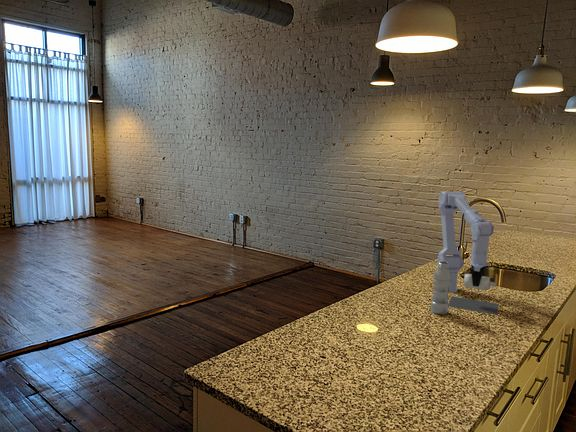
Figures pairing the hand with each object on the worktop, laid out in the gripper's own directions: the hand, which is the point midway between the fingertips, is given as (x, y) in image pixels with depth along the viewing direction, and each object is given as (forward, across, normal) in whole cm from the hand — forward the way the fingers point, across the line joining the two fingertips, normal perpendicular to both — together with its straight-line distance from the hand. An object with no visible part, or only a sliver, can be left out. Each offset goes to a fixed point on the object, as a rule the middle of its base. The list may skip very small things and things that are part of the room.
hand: (476, 284), depth 179 cm
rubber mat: (+9, -1, 0) cm, 9 cm away
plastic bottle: (+9, -17, +11) cm, 22 cm away
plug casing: (+1, 0, -1) cm, 2 cm away
